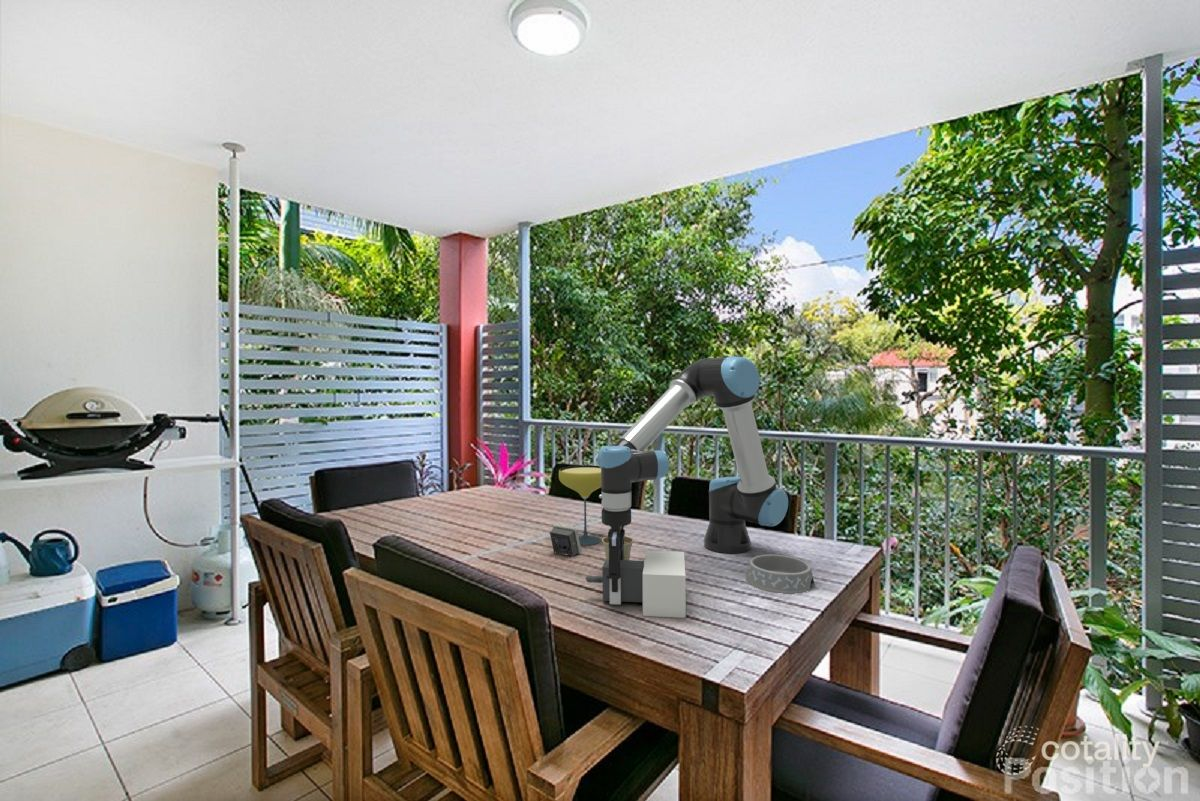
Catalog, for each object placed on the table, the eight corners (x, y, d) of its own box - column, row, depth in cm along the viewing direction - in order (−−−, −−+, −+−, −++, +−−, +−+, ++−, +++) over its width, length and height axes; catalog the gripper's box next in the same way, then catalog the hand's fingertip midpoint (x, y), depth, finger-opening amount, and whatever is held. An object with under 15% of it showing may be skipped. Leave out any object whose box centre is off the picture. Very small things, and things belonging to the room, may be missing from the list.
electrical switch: (582, 554, 177) (580, 526, 176) (572, 560, 173) (570, 531, 172) (558, 549, 183) (556, 522, 181) (549, 555, 178) (547, 527, 177)
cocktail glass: (570, 551, 180) (569, 475, 179) (552, 537, 197) (551, 467, 196) (620, 544, 187) (619, 471, 186) (599, 531, 204) (598, 463, 203)
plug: (666, 593, 142) (666, 561, 141) (666, 603, 136) (666, 569, 135) (588, 590, 144) (587, 558, 144) (584, 599, 138) (584, 566, 138)
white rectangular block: (684, 588, 147) (683, 551, 147) (685, 617, 129) (685, 575, 129) (646, 587, 148) (646, 550, 148) (642, 615, 130) (642, 574, 130)
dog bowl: (817, 576, 156) (817, 558, 156) (807, 600, 140) (807, 579, 140) (756, 567, 164) (756, 549, 164) (739, 588, 148) (739, 568, 148)
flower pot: (638, 565, 166) (638, 537, 165) (626, 576, 157) (626, 546, 157) (609, 561, 170) (609, 533, 169) (596, 571, 161) (596, 542, 161)
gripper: (606, 498, 150) (607, 581, 151) (595, 517, 130) (596, 613, 130) (634, 499, 149) (634, 582, 150) (627, 518, 129) (628, 614, 129)
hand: (617, 596), depth 140 cm, fingers open, 8 cm apart
